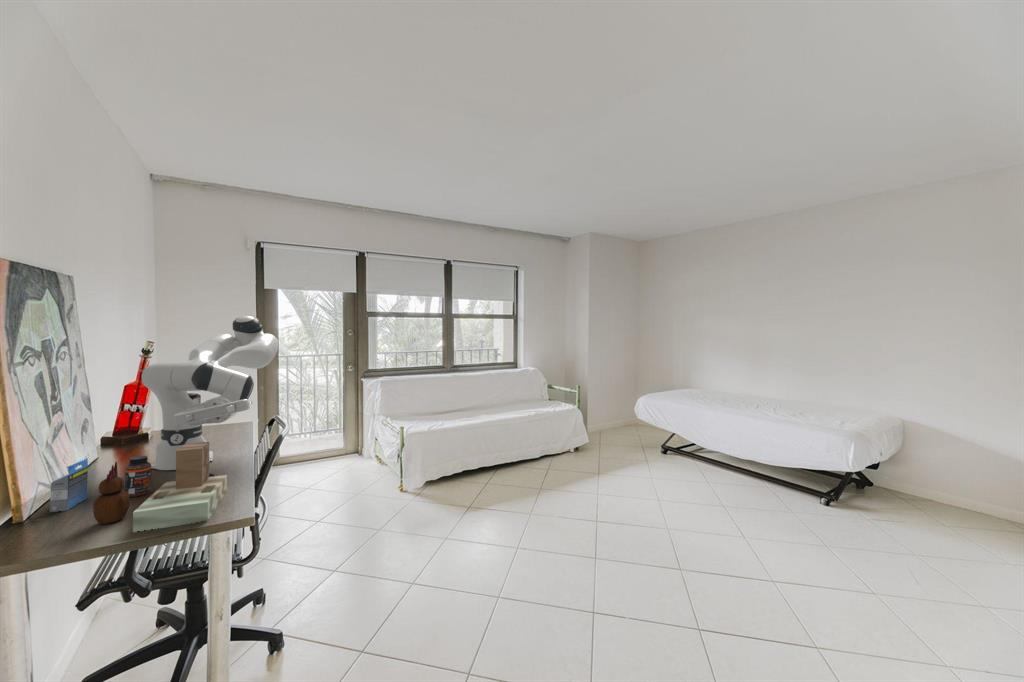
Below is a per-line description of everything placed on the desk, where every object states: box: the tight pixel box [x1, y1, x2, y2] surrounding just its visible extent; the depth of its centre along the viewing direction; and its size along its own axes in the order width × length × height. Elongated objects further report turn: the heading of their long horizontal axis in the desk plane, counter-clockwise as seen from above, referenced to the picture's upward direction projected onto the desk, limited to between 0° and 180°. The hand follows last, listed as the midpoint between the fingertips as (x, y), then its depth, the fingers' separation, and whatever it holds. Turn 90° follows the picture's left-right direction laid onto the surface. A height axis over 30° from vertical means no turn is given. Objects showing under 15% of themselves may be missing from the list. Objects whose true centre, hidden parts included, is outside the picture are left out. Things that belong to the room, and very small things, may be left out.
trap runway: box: [132, 474, 228, 533], centre depth 112 cm, size 23×15×5 cm, turn 25°
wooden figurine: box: [92, 461, 131, 525], centre depth 104 cm, size 7×6×15 cm
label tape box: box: [49, 457, 89, 513], centre depth 113 cm, size 9×4×12 cm, turn 22°
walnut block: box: [175, 441, 210, 489], centre depth 118 cm, size 8×6×11 cm
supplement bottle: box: [124, 455, 152, 498], centre depth 122 cm, size 6×6×11 cm
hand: (207, 414), depth 125 cm, fingers open, 8 cm apart
